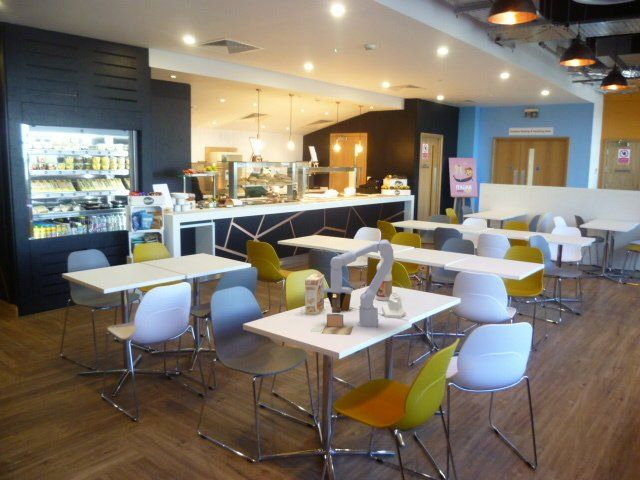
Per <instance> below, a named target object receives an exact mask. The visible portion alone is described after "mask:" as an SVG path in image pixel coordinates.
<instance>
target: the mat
mask: <svg viewBox="0 0 640 480" xmlns="http://www.w3.org/2000/svg"><path fill="white" fill-rule="evenodd" d="M354 327H355V326H354V325H343V327H327V324H325V325H324V327H323V328H322V331H321V332H320V333H321V334H322V335H323V334H324V335H343V336H344V335H345V336H351V334H352V331H353V329H354Z"/></svg>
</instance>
